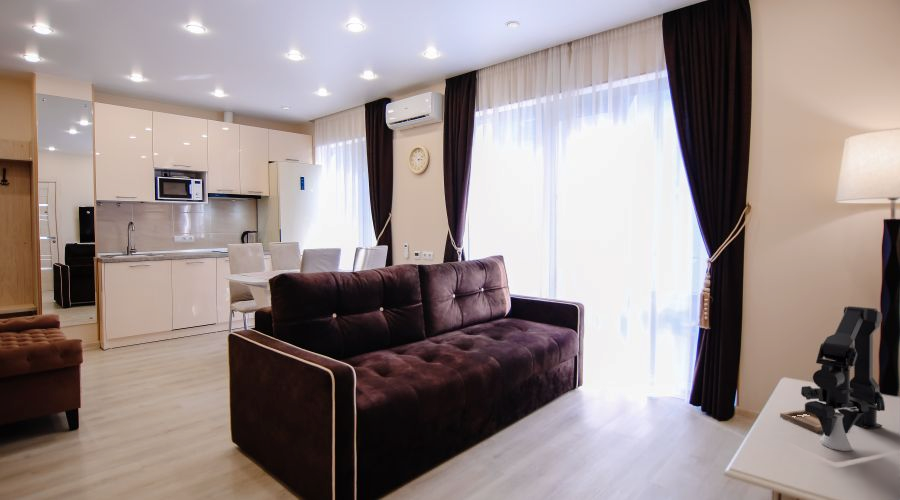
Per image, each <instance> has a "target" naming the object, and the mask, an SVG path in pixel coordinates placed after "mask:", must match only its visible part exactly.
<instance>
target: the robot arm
mask: <svg viewBox="0 0 900 500" xmlns="http://www.w3.org/2000/svg"><path fill="white" fill-rule="evenodd" d="M882 320H883V314H882V312H881V311H878V309H877V308H872V307H863V306H862V307H861V306H853V305H851V306H844V308H843V316H842V317H841V320H840V321H839V324H838V326H837V328H836V330H835V332H834V334H832V335H829V336H827V337H826V338H825V339H824V341H823V343H821V344H820V347H819V350H818V353H817V358H816V363H815V364H819V365H821V367H820V369H818V370H816V371H815V372H814V373H813V375H812V381H813V382H814V384H815V385H816V386H817V387H812V386H810V385H806V386H805V385H804V386H801V389H800V395H802V397H803V398H805V399H806V400H808V401H807V402H805V403H804V410H805V411H807V412H810V413H812V414H815V415H816V416H817V417H818V419H819V421H820V424H821V426H822V429H823V431H824V432H823V435H824V434H825V436H828V437H829V436H830V435H831V433H832V430H833V428H834V425H835V423H836V420H837V417H836V416H834V415H835V412H836V411H837V412H839V413H841V414H843V415H844V417H842V423H843V428H844V431H845V433H846V434H848V433H849V432H850V431H851V428H853V426H854V425H856V426H860V427H863V428H866V429H868V430H869V429H875V428H882V427H883V425H882V424H880V423H877V417H878V415H877V413H878V412H882V411H885V410H886V405H885V400H884V397H883V395H882V393H881V391H880V385H879V384H878V382H877V381H876V380H875V379H874V377H873V375H874V374H873V373H874V372H873V370H874V368H873V367H874V366H873V363H874V361H873V360H874V359H873V357H874V356H873V353H874V351H873V350H874V349H873V348H874V347H873V345H874V343H873V341H874V334H875V332H876V331H877V330H878V329H879V328H880V325H881V323H882ZM852 367H853V371H854V372H853V377H852V378H851V369H852ZM809 400H814V401H809ZM817 400H818V401H817Z"/></svg>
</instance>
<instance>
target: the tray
mask: <svg viewBox="0 0 900 500" xmlns="http://www.w3.org/2000/svg"><path fill="white" fill-rule="evenodd" d="M803 414H807V415H810V416H804V417H802V416H797V415H803ZM792 416H796V417H795V418H794V417H792ZM779 417H780V418H781V417H782V419H783V418H784V419H783V420H786V419H787V421H788V420H789V422H790V421H791V422H790V423H792V422H793V424H795V425H798V426H800V427H802V428H804V429H806V430H807V431H808V430H809V431H811V432H812V433H815V434H822V433H824V431H823V429H822V426H821V424H820V421H819V419H818V417H817V416H816V415H815V414H812V413H810V412H807V411H805V409H800V410H795V411H787V412H781V413H779Z"/></svg>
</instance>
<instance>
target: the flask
mask: <svg viewBox="0 0 900 500" xmlns="http://www.w3.org/2000/svg"><path fill="white" fill-rule="evenodd" d="M834 416H836V417H837V420H836V423H835V425H834V428H833V430H832V433H831V435H830V436H829V437H828V436H825V434H824V433H823V434H822V436H821V438H820V440H819V441H820V443H821V444H822V445H823V446H824V447H827V448H830V449H831V450H837V451H841V452H847V451H848V452H849V451H850V452H851V451H853V449H852V445H851V443H850V441H849V439H848V437H847V433H845V431H844V428H843V423H842V417H844V415H843V414H841V413H840V412H839V411H835V415H834Z"/></svg>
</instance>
